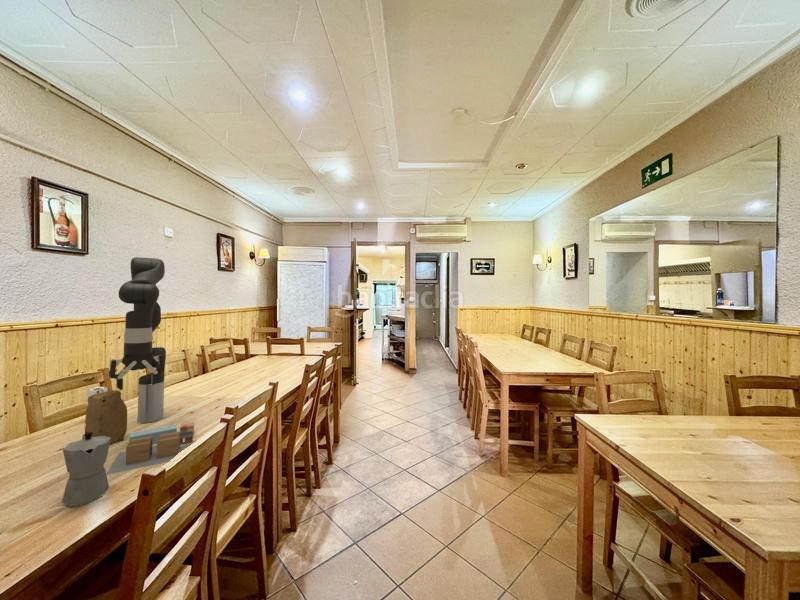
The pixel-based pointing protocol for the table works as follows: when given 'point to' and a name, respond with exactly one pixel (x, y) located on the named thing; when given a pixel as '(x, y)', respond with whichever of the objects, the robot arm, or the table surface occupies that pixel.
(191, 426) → the terracotta cube
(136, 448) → the base cube
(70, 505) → the coffeepot
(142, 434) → the lintel
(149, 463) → the grey flat sheet
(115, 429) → the block
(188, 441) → the model
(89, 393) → the beer glass
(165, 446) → the base cube
